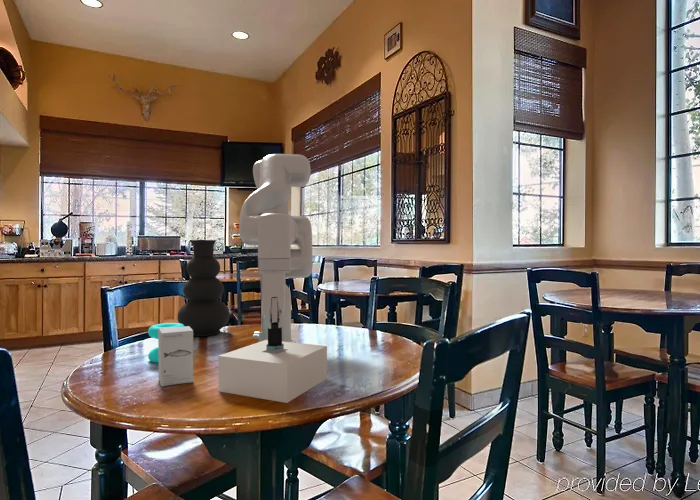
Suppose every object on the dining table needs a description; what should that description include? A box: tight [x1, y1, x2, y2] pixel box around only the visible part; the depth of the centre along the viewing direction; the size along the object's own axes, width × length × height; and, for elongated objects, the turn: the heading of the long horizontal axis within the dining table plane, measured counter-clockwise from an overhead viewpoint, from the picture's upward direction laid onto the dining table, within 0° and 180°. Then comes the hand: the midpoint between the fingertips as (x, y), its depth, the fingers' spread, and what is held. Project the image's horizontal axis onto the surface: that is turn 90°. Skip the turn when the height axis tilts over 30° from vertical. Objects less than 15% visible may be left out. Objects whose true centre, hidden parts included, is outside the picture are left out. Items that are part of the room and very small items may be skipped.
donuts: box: [147, 322, 185, 364], centre depth 125 cm, size 10×10×10 cm
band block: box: [217, 340, 328, 404], centre depth 102 cm, size 18×18×8 cm
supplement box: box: [157, 326, 194, 387], centre depth 105 cm, size 7×7×13 cm
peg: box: [266, 344, 284, 354], centre depth 102 cm, size 4×4×8 cm
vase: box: [177, 239, 231, 337], centre depth 161 cm, size 18×18×35 cm
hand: (275, 344), depth 101 cm, fingers closed
